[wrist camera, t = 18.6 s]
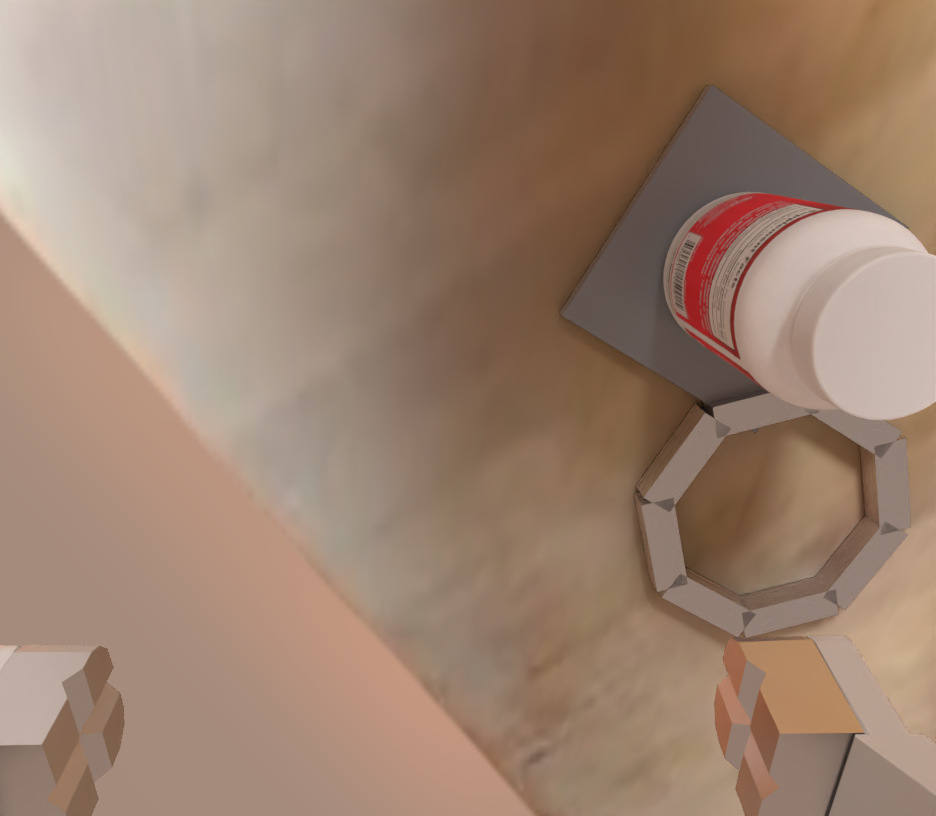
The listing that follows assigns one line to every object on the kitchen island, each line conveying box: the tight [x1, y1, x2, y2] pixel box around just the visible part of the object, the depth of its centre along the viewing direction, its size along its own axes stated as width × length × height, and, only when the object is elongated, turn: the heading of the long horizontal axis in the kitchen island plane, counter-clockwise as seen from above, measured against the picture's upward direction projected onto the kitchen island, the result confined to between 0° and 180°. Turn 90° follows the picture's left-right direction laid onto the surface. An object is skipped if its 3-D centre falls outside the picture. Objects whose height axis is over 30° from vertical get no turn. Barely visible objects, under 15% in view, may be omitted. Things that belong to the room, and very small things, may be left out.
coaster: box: [560, 85, 909, 433], centre depth 32 cm, size 10×10×1 cm
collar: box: [634, 389, 911, 638], centre depth 36 cm, size 12×12×1 cm
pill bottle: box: [663, 192, 936, 420], centre depth 27 cm, size 6×6×11 cm
